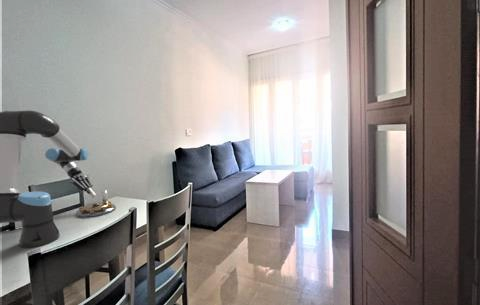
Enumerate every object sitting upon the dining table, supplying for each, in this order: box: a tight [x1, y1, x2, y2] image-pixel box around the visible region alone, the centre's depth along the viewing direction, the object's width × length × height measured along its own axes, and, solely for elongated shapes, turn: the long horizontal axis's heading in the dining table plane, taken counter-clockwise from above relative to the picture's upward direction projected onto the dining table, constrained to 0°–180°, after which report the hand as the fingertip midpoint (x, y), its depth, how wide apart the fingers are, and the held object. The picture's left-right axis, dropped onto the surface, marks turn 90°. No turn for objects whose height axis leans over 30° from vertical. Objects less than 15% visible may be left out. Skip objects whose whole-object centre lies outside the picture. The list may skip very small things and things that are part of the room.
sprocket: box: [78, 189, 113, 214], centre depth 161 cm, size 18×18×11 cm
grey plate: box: [75, 203, 117, 219], centre depth 162 cm, size 22×22×2 cm
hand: (94, 196), depth 166 cm, fingers closed
